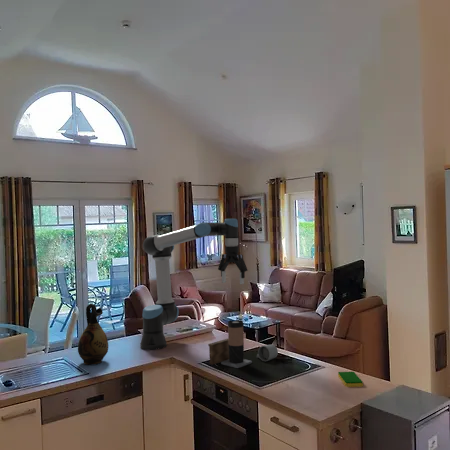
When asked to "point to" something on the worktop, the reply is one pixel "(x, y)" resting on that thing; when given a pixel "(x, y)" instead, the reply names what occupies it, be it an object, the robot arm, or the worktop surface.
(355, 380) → the dish sponge
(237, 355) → the travel mug
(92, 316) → the ceramic jug
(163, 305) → the robot arm
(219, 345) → the walnut screen
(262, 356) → the ceramic mug
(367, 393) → the worktop surface
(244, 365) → the slate tile
